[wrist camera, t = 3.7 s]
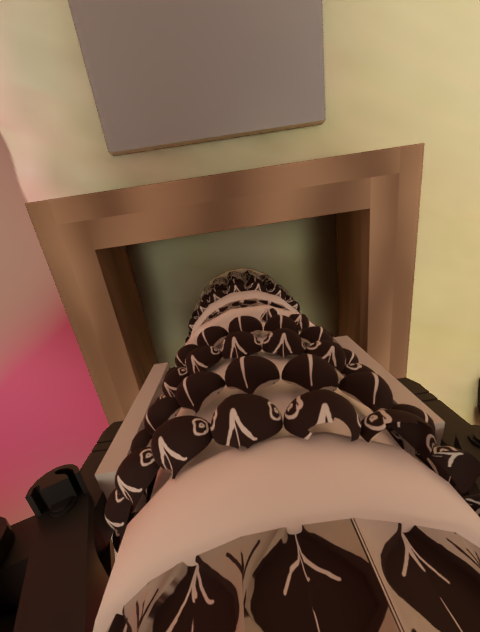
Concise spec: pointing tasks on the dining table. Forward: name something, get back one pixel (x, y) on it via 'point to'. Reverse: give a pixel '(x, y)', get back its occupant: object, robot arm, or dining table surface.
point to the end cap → (479, 396)
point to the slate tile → (201, 68)
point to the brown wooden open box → (230, 213)
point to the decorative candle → (287, 489)
